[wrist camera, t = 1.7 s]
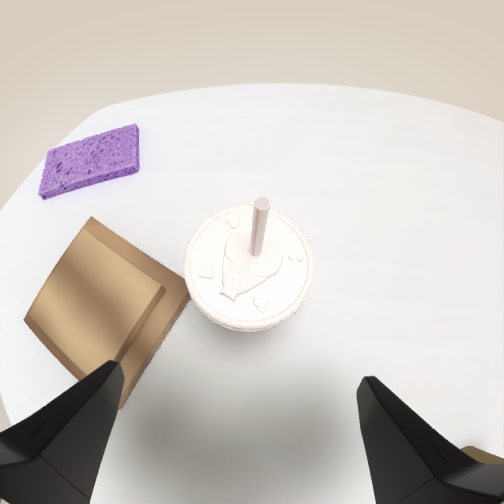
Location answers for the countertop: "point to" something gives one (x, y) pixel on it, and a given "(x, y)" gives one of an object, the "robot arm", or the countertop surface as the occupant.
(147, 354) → the walnut base
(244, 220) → the smoothie
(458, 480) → the robot arm
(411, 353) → the countertop surface
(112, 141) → the sponges
